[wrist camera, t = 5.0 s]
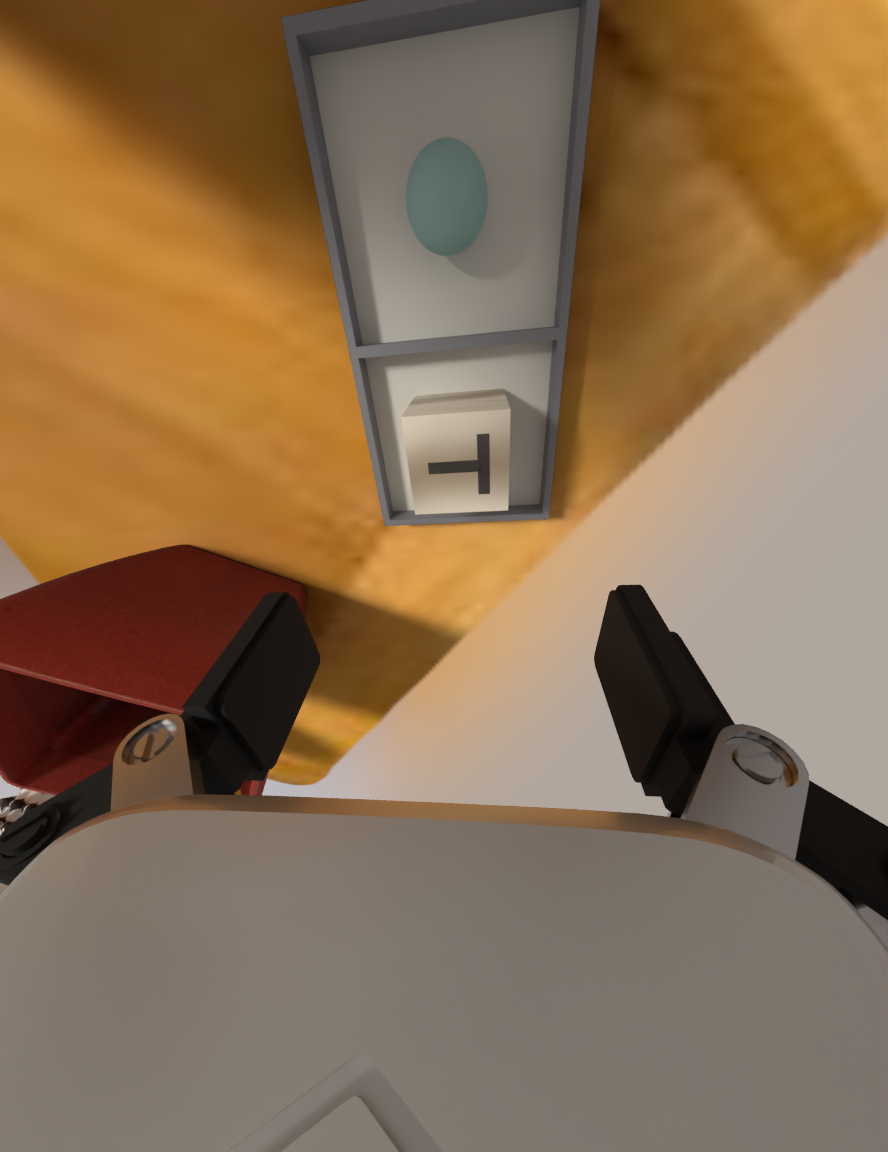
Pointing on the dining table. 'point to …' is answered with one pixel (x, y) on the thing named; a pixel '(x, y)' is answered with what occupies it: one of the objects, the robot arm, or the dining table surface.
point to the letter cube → (458, 451)
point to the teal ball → (446, 196)
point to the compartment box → (509, 233)
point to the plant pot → (114, 656)
